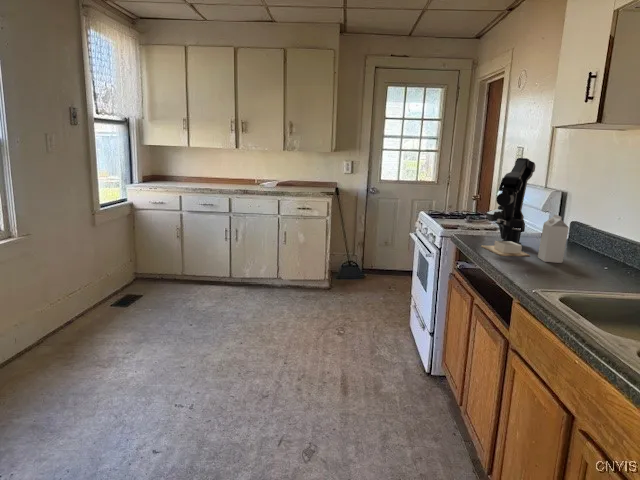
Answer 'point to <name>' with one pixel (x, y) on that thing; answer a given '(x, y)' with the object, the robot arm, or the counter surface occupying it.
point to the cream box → (507, 247)
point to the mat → (491, 248)
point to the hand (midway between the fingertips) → (502, 238)
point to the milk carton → (553, 240)
